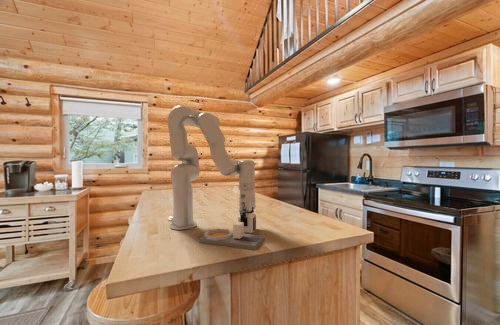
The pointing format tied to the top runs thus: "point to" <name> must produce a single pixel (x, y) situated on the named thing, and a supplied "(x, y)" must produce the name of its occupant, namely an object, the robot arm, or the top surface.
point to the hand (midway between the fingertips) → (247, 223)
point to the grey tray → (231, 239)
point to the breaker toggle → (238, 230)
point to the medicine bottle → (249, 221)
